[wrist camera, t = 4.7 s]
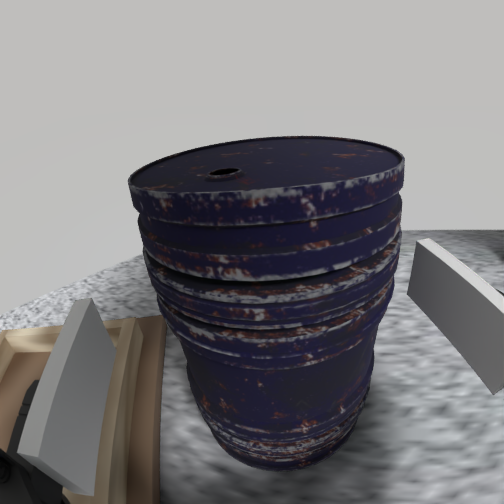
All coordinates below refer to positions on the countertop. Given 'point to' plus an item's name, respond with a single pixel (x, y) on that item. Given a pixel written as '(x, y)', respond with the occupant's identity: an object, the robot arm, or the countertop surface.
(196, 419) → the countertop surface
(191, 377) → the dark blue barrel
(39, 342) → the base board
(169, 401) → the countertop surface
